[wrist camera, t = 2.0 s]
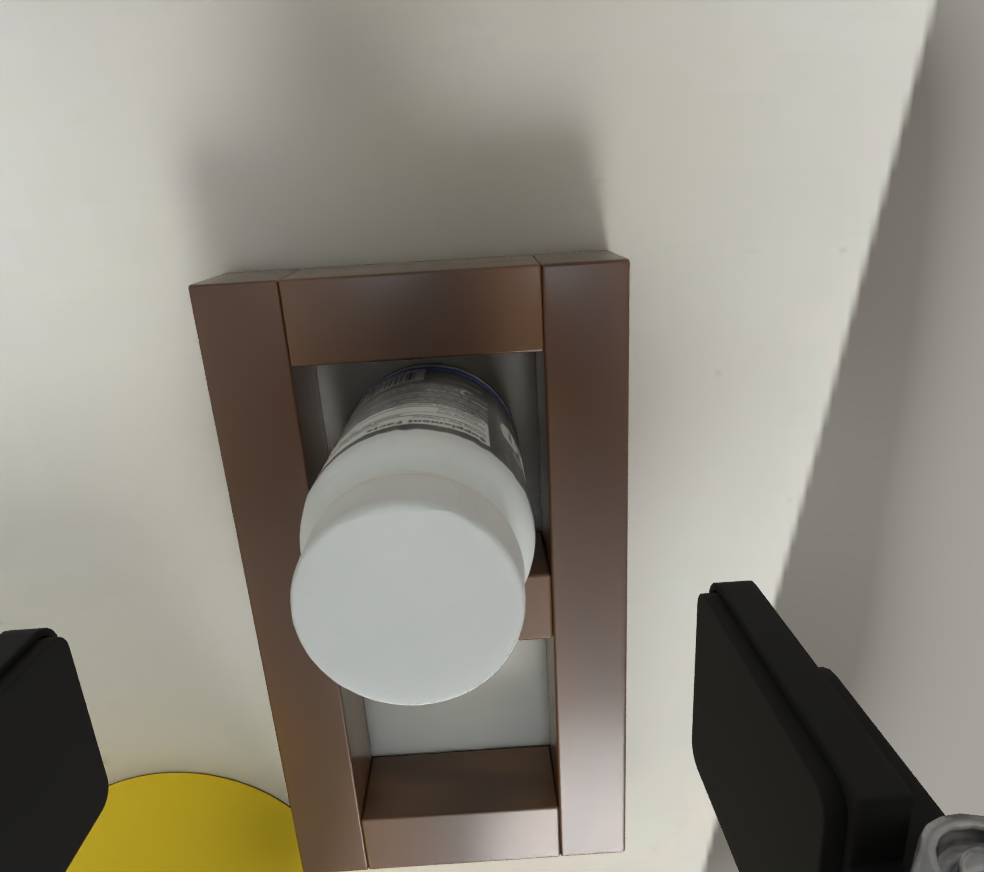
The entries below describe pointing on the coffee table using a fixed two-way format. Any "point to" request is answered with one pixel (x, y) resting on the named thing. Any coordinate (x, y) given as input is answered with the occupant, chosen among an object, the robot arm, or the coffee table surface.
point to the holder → (549, 587)
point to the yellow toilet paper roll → (189, 828)
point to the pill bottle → (416, 541)
